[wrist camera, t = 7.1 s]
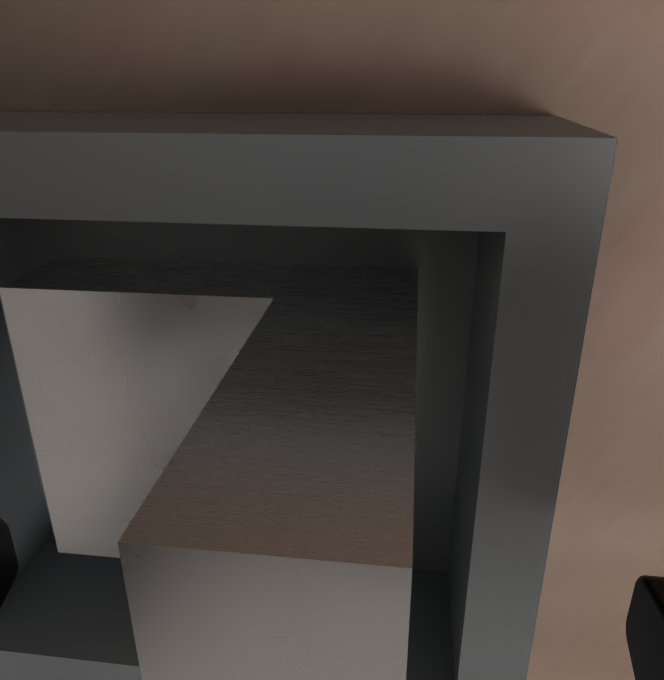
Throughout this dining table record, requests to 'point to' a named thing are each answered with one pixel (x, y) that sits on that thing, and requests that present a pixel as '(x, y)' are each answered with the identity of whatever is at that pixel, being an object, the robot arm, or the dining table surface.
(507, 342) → the bin
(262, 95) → the dining table surface
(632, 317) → the dining table surface
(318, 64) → the dining table surface
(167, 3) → the dining table surface
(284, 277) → the bracket
